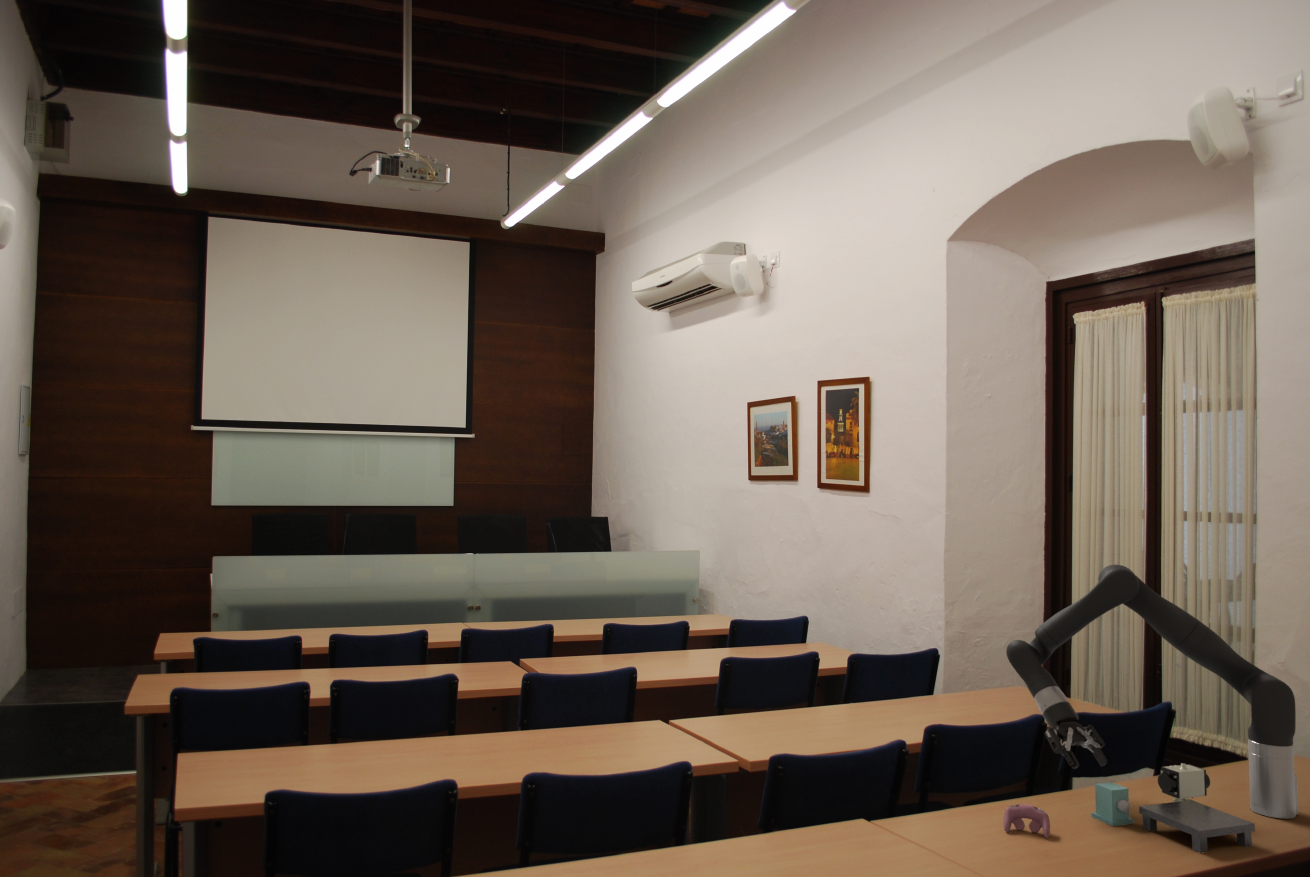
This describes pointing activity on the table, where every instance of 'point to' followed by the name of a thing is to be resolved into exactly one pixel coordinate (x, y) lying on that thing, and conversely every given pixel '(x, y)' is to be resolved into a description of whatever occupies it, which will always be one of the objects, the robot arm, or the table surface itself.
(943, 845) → the table surface
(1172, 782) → the pneumatic valve
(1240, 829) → the stand
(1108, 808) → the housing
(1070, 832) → the table surface
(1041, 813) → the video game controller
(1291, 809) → the robot arm
